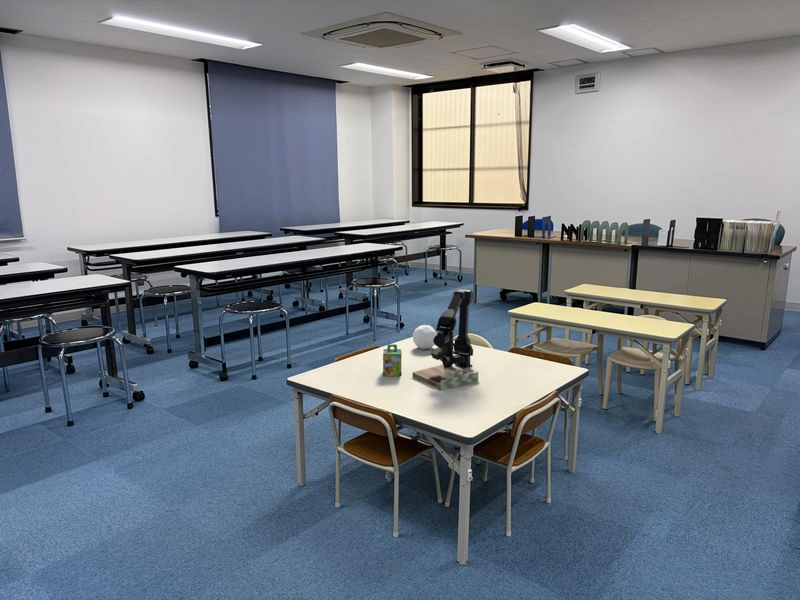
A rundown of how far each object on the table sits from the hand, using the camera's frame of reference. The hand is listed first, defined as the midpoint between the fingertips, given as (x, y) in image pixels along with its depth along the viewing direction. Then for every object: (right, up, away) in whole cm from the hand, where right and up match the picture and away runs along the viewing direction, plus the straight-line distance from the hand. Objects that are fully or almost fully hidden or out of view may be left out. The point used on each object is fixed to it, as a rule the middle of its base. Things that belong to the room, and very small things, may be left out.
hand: (447, 372), depth 274 cm
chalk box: (-26, -2, +11) cm, 28 cm away
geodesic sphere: (-8, +7, +52) cm, 53 cm away
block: (+3, -2, -4) cm, 5 cm away
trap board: (-1, -3, +2) cm, 4 cm away
